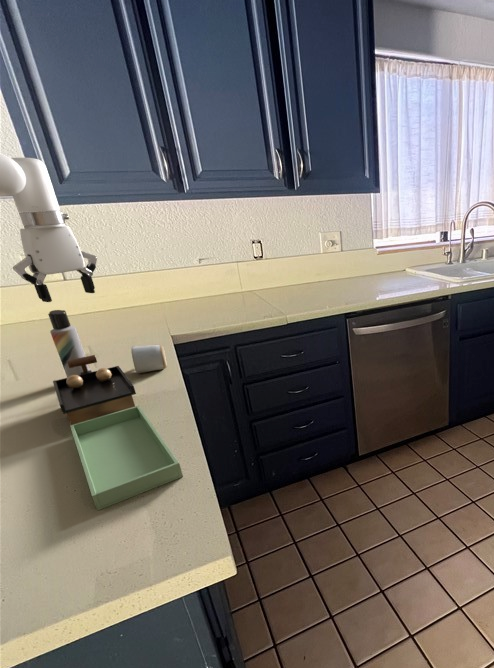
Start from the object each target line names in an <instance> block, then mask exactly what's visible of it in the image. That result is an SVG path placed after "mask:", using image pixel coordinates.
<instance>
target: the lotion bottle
mask: <svg viewBox="0 0 494 668" xmlns="http://www.w3.org/2000/svg"><path fill="white" fill-rule="evenodd" d="M47 315H48V318H49V321H50V323H51V326H52V329H51V330H50V335H51V339H52V341H53V344H54V346H55V348H56V351H57V354H58V357H59V359H60V363H61V365H62V368H63V371H64V372H65V376H66V378H68V377H69V376H71V375H81V374H80V373H81V372H83V370H82V367H81V366H79V367H74V368H69V366H68V363H67V361H68V360H73V359H77V358H82V357H87V356H86V353H85V350H84V348H83V344H82V341H81V338H80V335H79V333H78V330H77V328H76V326H74V325H72V324H71V322H70V320H69V316H68V314H67V312H66V310H65V309H64V310H63V309H53V310H50V311H49V313H47ZM86 367H87V369H88V371H90V370H91V367H90V364H88V365H86Z"/></svg>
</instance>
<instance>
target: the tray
mask: <svg viewBox="0 0 494 668" xmlns="http://www.w3.org/2000/svg"><path fill="white" fill-rule="evenodd" d="M69 427H70V430H71V433H72V438H73V440H74V443H75V447H76V449H77V453H78V456H79V460H80V463H81V467H82V469H83V472H84V476H85V479H86V482H87V485H88V488H89V491H90V495H91V497H92V500H93V503H94V506H95V508H96V510H97V511H100V510H102V509H105V508H108V507H110V506H113V505H115V504H118V503H121V502H122V501H126V500H128V499H130V498H134V497H136V496H138V495H141V494H143V493H145V492H148V491H151V490H153V489H155V488H158V487H161V486H163V485H166V484H168V483H171V482H173V481H175V480H178V479H181V478H183V477H184V475H183V471H182V468H181V464H180V462H179V460H178V459H177V458H176V456H175V454H174V453H173V452H172V450H171V448H170V447H169V446H168V445H167V443H166V442H165V440H164V439H163V438H162V436H161V435H160V433H159V432H158V430H157V429H156V427H155V426H154V425H153V423H152V422H151V420H150V419H149V417H148V416H147V415H146V413H145V412H144V410H143V409H142V407H141V406H140V405H135V407H132V408H129V409H125V410H122V411H118V412H115V413H111V414H108V415H104V416H101V417H97V418H94V419H91V420H87V421H84V422H80V423H77V424H73V425H71V424H70V425H69Z"/></svg>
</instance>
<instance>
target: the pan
mask: <svg viewBox="0 0 494 668" xmlns="http://www.w3.org/2000/svg"><path fill="white" fill-rule="evenodd" d="M67 363H68V366H69V368H74V367H79V366H81V367H82V370H83V372H81V373H80V374H81V375H78V376H80V377H81V378H82V379H83V384H82V386H81V387H79V388H70V387H69V386H68V385H67V383H66V380H67V377H65V378H61V379H56V380H52V384H53V387H54V390H55V394H56V398H57V401H58V403H59V407H60V409H61V412H62V414H63V415H64V414H67V413H69V412H72V411H76V410H80V409H83V408H87V407H91V406H94V405H98V404H101V403H105V402H109V401H112V400H116V399H120V398H123V397H127V396H131V395H132V396H134V395H137V393H136V389H135V386H134V384H133V382H132V381H131V380H130V379H129V378H128V377H127V375H126V373H125V372H124V371H123V370H122V369H121V367H120V365H116V366H112V367H106V369H108V370H110V372H111V374H112V375H111V378H110V379H109V380H107V381H100V380H99V379H97V377H96V372H97V371H98V370H94V371H92V370H91V369H90V371H88V369H87V367H86V365H88V364H89V365H92V364H96V363H98V360H97V356H96V354H93V355H87V356H86V357H82V358H77V359H73V360H68V361H67Z"/></svg>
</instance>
